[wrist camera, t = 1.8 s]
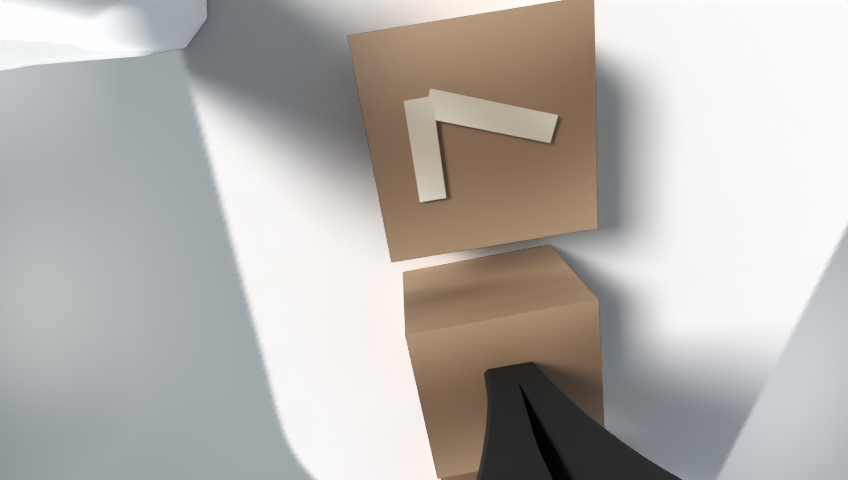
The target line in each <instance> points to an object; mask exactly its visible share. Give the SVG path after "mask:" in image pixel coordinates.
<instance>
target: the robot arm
mask: <svg viewBox="0 0 848 480" xmlns="http://www.w3.org/2000/svg"><path fill="white" fill-rule="evenodd" d="M484 379H485V386H486V393H487V419H486V430H485V437H484V444H483V451H482V456H481V461H480V466H479V471H478V475H477V479H476V480H682V479H680V478H678V477H677V476H675V475H673V474H671V473H670V472H668V471H666V470H664V469H663V468H661V467H659V466H658V465H656V464H654V463H653V462H651V461H650V460H648V459H647V458H645V457H643V456H642V455H641V454H639V453H638V452H636V451H635V450H633V449H632V448H630V447H629V446H627V445H626V444H625V443H623V442H622V441H620V440H619V439H618V438H616V437H615V436H614V435H612V434H611V433H610V432H609V431H607V430H606V429H605V428H603V427H602V426H601V425H600V424H598V423H597V422H596V421H595V420H593V419H592V418H591V417H590V416H589V415H587V414H586V413H585V412H584V411H583V410H582V409H581V408H579V407H578V406H577V405H576V404H575V403H574V402H573V401H572V400H570V399H569V398H568V397H567V396H566V395H565V394H564V393H563V392H562V391H561V390H560V389H559V388H558V387H557V386H556V385H555V384H554V383H553V382H552V381H551V380H550V379H549V378H548V377H547V376H546V375H545V374H544V373H543V372H542V371H541V370H540V369H539V368H538V367H537V366H536V365H535V364H534V363H533V362H526V363H521V364H515V365H509V366H504V367H498V368H492V369H487V370H486V372H485V373H484Z"/></svg>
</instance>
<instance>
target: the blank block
mask: <svg viewBox="0 0 848 480" xmlns="http://www.w3.org/2000/svg"><path fill="white" fill-rule="evenodd" d="M403 287H404V314H405V336H406V341H407V345H408V349H409V354H410V358H411V363H412V367H413V372H414V376H415V381H416V385H417V389H418V394H419V398H420V403H421V407H422V412H423V416H424V420H425V425H426V429H427V434H428V438H429V443H430V447H431V452H432V456H433V460H434V465H435V469H436V474H437V478H444V477H449V476H454V475H460V474H465V473H471V472H476V471H479V466H480V461H481V456H482V451H483V444H484V437H485V430H486V419H487V393H486V386H485V379H484V373H485V372H486V370H487V369H492V368H498V367H504V366H509V365H515V364H521V363H526V362H533V363H534V364H535V365H536V366H537V367H538V368H539V369H540V370H541V371H542V372H543V373H544V374H545V375H546V376H547V377H548V378H549V379H550V380H551V381H552V382H553V383H554V384H555V385H556V386H557V387H558V388H559V389H560V390H561V391H562V392H563V393H564V394H565V395H566V396H567V397H568V398H569V399H570V400H572V401H573V402H574V403H575V404H576V405H577V406H578V407H579V408H581V409H582V410H583V411H584V412H585V413H586V414H587V415H589V416H590V417H591V418H592V419H593V420H595V421H596V422H597V423H598V424H600V425H601V426H602V427H603V428H604V413H603V389H602V366H601V343H600V320H599V299H598V298H597V297H596V296H595V295H594V294H593V292H592V291H591V290H590V289H589V288H588V287H587V286H586V285H585V283H584V282H583V281H582V280H581V279H580V278H579V277H578V276H577V274H576V273H575V272H574V271H573V270H572V269H571V268H570V267H569V265H568V264H567V263H566V262H565V261H564V260H563V259H562V258H561V257H560V255H559V254H558V253H557V252H556V251H555V250H554V249H553V248H552V246H551V245H550V244H549V245H544V246H539V247H533V248H528V249H523V250H517V251H512V252H507V253H502V254H496V255H491V256H486V257H480V258H475V259H470V260H465V261H459V262H454V263H449V264H443V265H438V266H433V267H428V268H422V269H417V270H412V271H406V272H403Z"/></svg>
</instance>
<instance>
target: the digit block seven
mask: <svg viewBox="0 0 848 480" xmlns="http://www.w3.org/2000/svg"><path fill="white" fill-rule="evenodd" d="M347 37H348V42H349V47H350V52H351V57H352V63H353V68H354V73H355V78H356V83H357V88H358V93H359V99H360V104H361V109H362V114H363V119H364V124H365V129H366V135H367V140H368V145H369V150H370V155H371V160H372V165H373V171H374V176H375V181H376V186H377V191H378V196H379V201H380V207H381V212H382V217H383V222H384V227H385V232H386V237H387V243H388V248H389V253H390V258H391V262H397V261H403V260H409V259H415V258H421V257H427V256H433V255H439V254H445V253H451V252H457V251H463V250H469V249H475V248H481V247H487V246H493V245H500V244H506V243H512V242H518V241H524V240H530V239H536V238H542V237H548V236H554V235H560V234H566V233H572V232H578V231H584V230H590V229H596V228H597V164H596V95H595V27H594V0H562V1H556V2H550V3H544V4H538V5H532V6H525V7H519V8H513V9H507V10H501V11H495V12H488V13H482V14H476V15H470V16H464V17H458V18H451V19H445V20H439V21H433V22H427V23H420V24H414V25H408V26H402V27H396V28H390V29H383V30H377V31H371V32H365V33H359V34H353V35H347Z"/></svg>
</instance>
